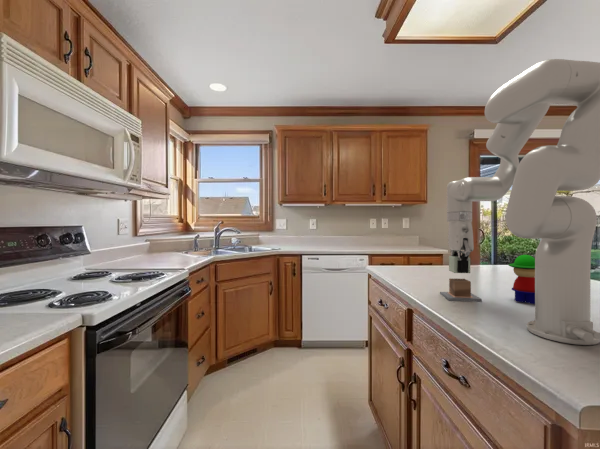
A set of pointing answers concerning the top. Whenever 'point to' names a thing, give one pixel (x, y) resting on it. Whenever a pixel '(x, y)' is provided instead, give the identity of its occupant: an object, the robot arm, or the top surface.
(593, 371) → the top surface
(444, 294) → the slate board
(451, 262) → the sage block
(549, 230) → the robot arm
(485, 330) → the top surface
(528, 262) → the toy
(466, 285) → the walnut block
